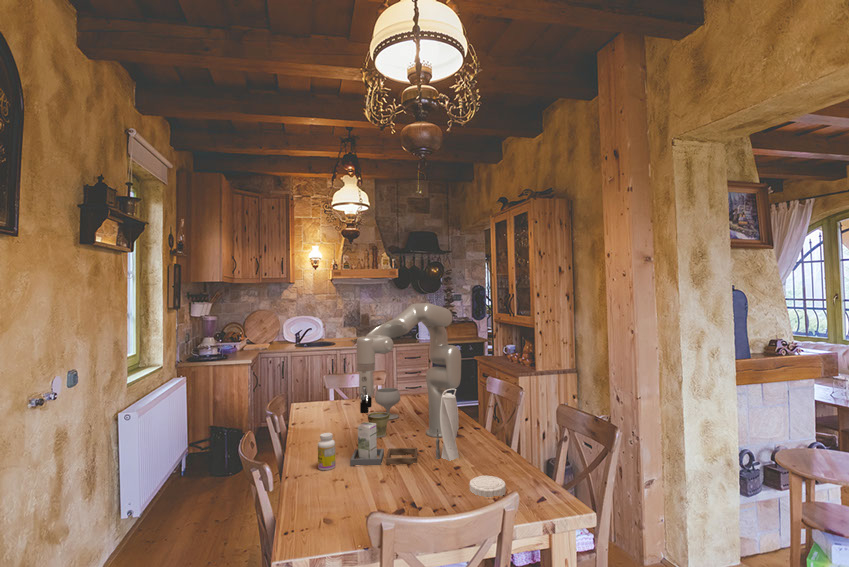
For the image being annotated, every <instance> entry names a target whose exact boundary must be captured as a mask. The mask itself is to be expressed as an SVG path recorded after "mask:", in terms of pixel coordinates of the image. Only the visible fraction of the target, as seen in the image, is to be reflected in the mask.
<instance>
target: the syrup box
mask: <svg viewBox="0 0 849 567" xmlns="http://www.w3.org/2000/svg"><path fill="white" fill-rule="evenodd" d="M377 439H378V438H376V423H369V422H367V421H365V422H362V423H360V424H358V425H357V449H358V456H357V459H364V458H378V456H377V449H378V447H377V444H378V443H377V441H378V440H377Z"/></svg>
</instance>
